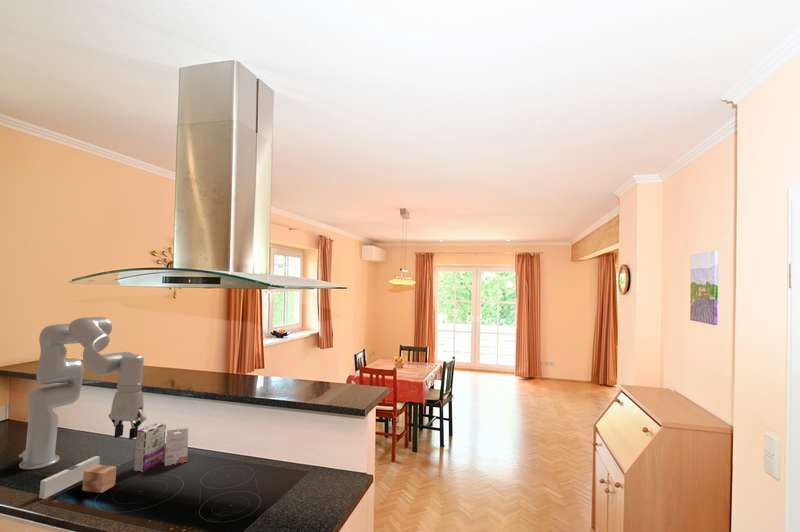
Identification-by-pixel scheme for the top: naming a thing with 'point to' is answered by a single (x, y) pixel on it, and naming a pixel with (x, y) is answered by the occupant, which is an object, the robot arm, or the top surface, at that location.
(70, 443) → the top surface
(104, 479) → the terracotta block
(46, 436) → the robot arm
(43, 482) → the grey board
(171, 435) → the ink cartridge box
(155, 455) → the candy bar box
